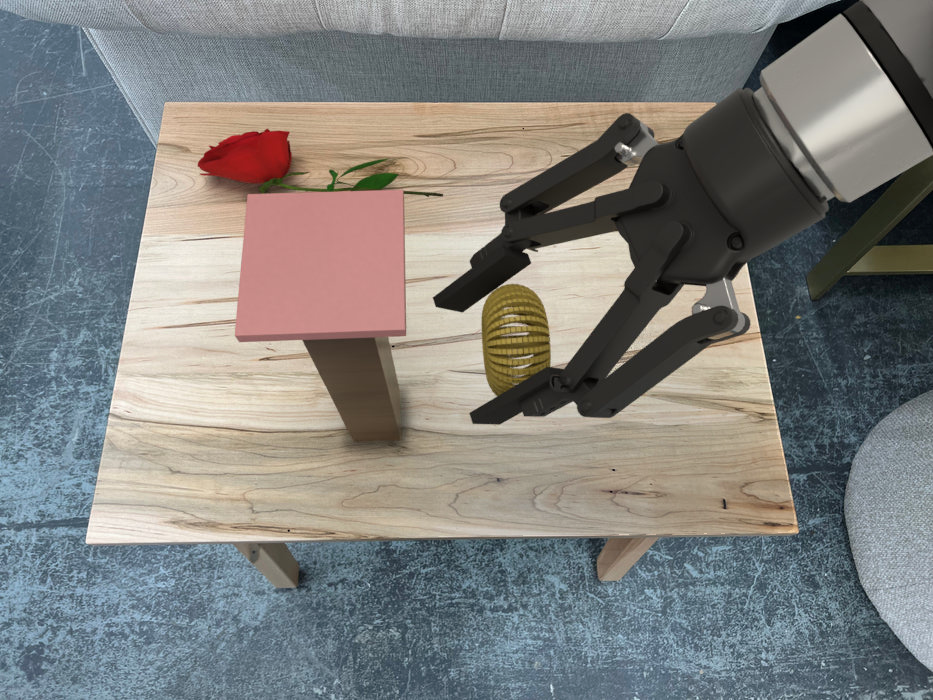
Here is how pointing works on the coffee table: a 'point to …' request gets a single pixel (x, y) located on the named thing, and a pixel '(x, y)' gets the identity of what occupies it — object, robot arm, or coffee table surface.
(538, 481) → the coffee table surface
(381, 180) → the flower
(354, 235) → the rose shelf
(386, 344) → the stand post
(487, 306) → the sculpture
